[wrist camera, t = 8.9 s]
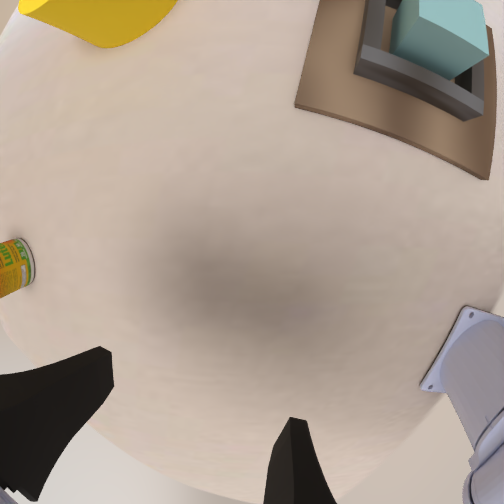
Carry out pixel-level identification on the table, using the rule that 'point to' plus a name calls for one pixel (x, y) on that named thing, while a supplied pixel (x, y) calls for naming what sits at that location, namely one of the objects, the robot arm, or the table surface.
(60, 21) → the tape roll
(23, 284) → the supplement bottle
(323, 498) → the robot arm
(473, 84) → the socket board
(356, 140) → the table surface
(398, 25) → the peg
